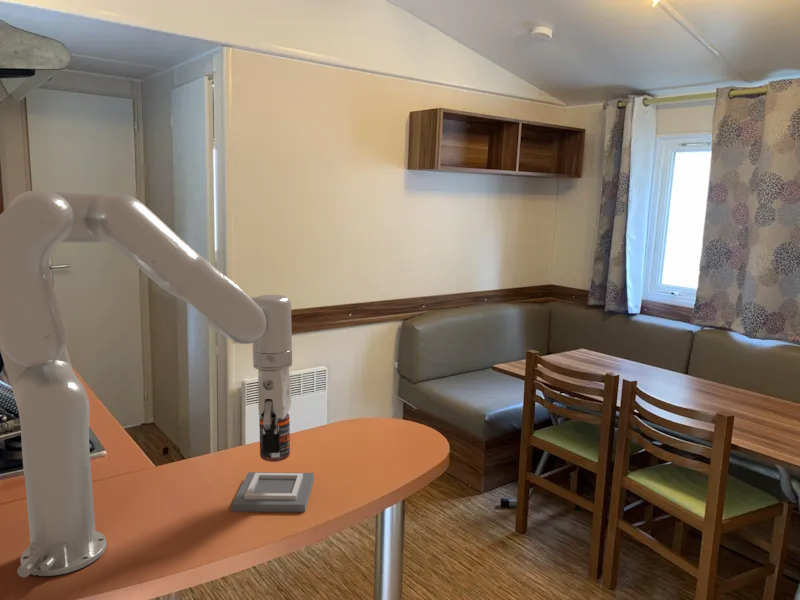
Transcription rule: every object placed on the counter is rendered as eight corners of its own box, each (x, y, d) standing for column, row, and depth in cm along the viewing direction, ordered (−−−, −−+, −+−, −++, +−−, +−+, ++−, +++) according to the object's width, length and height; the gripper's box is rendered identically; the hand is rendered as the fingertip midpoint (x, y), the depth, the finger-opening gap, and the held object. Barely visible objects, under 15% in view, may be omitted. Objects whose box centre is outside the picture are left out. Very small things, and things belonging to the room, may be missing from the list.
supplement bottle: (283, 464, 121) (282, 409, 119) (255, 461, 122) (253, 406, 120) (294, 452, 127) (293, 399, 125) (267, 449, 128) (265, 397, 126)
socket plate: (304, 511, 119) (304, 500, 118) (231, 511, 119) (231, 500, 118) (313, 479, 133) (313, 469, 132) (248, 478, 132) (248, 468, 132)
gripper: (284, 370, 113) (286, 463, 116) (298, 347, 130) (299, 429, 133) (243, 370, 113) (246, 463, 115) (262, 347, 130) (264, 429, 133)
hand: (274, 444), depth 124 cm, fingers closed on supplement bottle, 6 cm apart
